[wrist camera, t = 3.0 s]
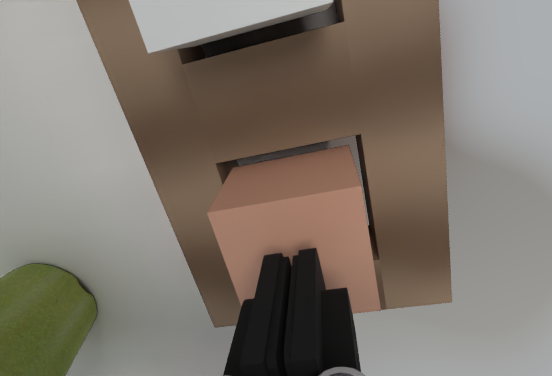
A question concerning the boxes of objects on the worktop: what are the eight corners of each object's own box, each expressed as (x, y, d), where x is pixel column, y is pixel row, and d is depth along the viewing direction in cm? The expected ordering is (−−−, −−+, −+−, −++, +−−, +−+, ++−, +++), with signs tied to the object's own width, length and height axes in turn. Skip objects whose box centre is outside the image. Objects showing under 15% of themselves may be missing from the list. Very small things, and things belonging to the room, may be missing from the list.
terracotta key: (232, 167, 15) (207, 213, 11) (348, 144, 14) (361, 186, 10) (261, 260, 17) (247, 324, 13) (365, 245, 16) (380, 310, 12)
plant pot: (128, 263, 21) (19, 403, 13) (118, 361, 25) (30, 513, 17) (-22, 222, 21) (-224, 339, 13) (-7, 327, 25) (-154, 465, 17)
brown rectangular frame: (49, -179, 12) (-25, -237, 10) (389, -331, 10) (418, -463, 7) (227, 288, 21) (214, 327, 18) (431, 262, 19) (451, 302, 16)
